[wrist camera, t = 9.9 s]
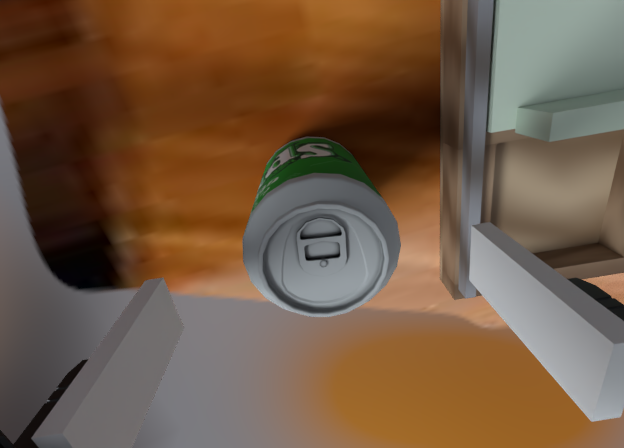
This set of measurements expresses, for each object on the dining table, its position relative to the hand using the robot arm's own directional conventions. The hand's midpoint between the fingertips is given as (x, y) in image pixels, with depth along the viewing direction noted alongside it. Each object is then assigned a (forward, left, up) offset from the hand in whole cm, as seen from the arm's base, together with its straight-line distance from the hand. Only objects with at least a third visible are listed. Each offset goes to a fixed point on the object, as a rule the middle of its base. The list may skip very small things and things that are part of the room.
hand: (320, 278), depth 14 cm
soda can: (0, 0, -13) cm, 13 cm away
